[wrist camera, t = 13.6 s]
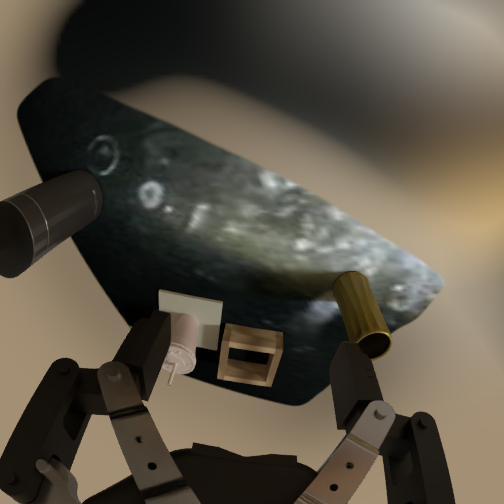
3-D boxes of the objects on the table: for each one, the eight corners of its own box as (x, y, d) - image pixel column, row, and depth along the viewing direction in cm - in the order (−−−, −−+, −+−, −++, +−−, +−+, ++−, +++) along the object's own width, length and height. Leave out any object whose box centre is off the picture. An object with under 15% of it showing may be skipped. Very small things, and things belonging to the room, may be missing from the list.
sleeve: (220, 361, 55) (217, 378, 51) (226, 323, 51) (222, 340, 47) (271, 369, 55) (271, 386, 51) (282, 332, 51) (282, 349, 47)
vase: (363, 303, 47) (386, 363, 34) (329, 302, 47) (344, 364, 35) (372, 272, 45) (402, 328, 32) (336, 269, 45) (357, 327, 32)
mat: (161, 336, 53) (160, 338, 53) (159, 289, 49) (158, 291, 48) (217, 348, 53) (216, 350, 53) (222, 301, 49) (222, 303, 48)
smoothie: (180, 338, 52) (159, 396, 40) (165, 311, 50) (137, 368, 37) (211, 333, 51) (196, 394, 38) (197, 304, 49) (176, 364, 36)
